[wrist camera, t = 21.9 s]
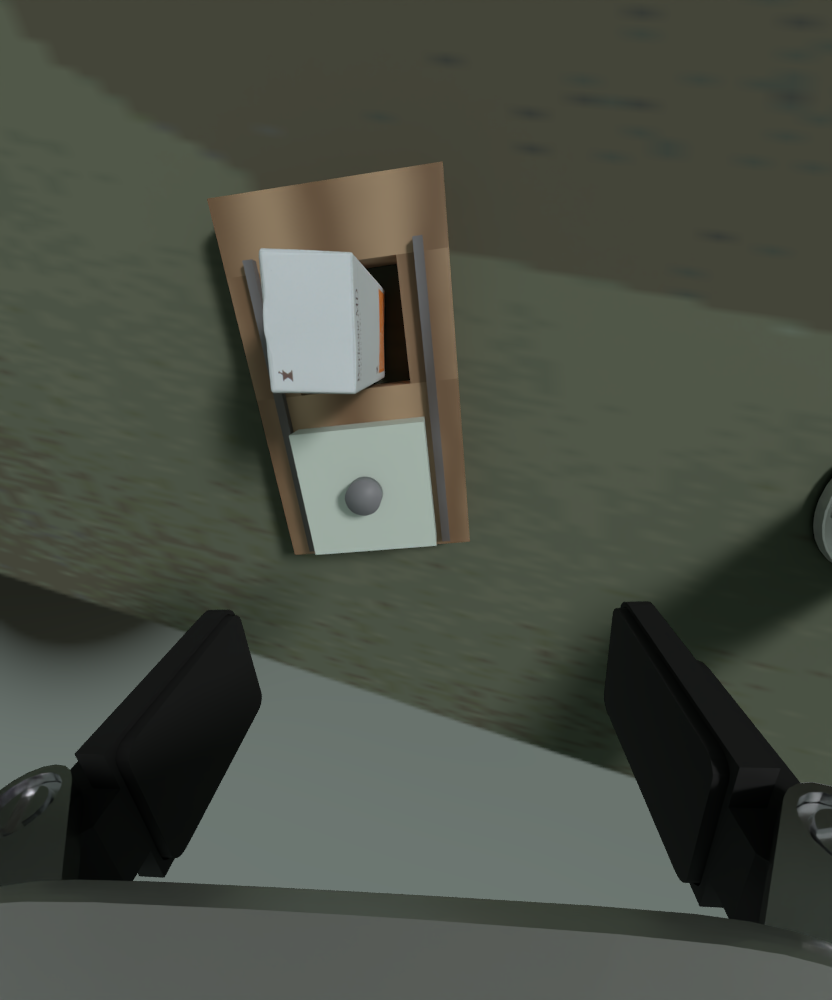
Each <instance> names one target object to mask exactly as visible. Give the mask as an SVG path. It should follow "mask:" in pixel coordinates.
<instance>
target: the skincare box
mask: <svg viewBox="0 0 832 1000" xmlns="http://www.w3.org/2000/svg"><path fill="white" fill-rule="evenodd" d="M259 265H260V276H261V287H262V298H263V325H264V334H265V338H266V345H267V356H268V364H269V375H270V385H271V391H272V392H273V393H316V394H356V393H357V392H359V391H361V390H363V389H365V388H366V387H368V386H370V385H372V384H373V383H375V382H377V381H379V380H381V379H382V378H384V377H385V362H384V316H385V290H384V289H383V288H382V287H381V286H380V284H379V283H378V282H377V281H376V280H375V279H374V278H373V276H372V275H371V274H370V273H369V272H368V271H367V270H366V269H365V267H364V266H363V265H362V264H361V263H360V262H359V260H358V259H357V258H356V257H355V256H354V255H353V253H351V252H338V251H317V250H297V249H269V248H261V249H260V250H259Z"/></svg>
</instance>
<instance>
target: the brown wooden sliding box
mask: <svg viewBox="0 0 832 1000" xmlns="http://www.w3.org/2000/svg"><path fill="white" fill-rule="evenodd" d="M207 201H208V205H209V209H210V213H211V217H212V221H213V225H214V229H215V233H216V237H217V241H218V245H219V249H220V253H221V257H222V261H223V265H224V270H225V274H226V278H227V282H228V286H229V290H230V294H231V298H232V302H233V306H234V310H235V314H236V318H237V322H238V326H239V330H240V334H241V338H242V342H243V346H244V351H245V355H246V359H247V363H248V367H249V371H250V375H251V379H252V383H253V387H254V391H255V395H256V399H257V403H258V407H259V411H260V415H261V419H262V423H263V427H264V432H265V436H266V440H267V444H268V448H269V452H270V456H271V460H272V464H273V468H274V472H275V476H276V480H277V484H278V488H279V492H280V496H281V500H282V504H283V508H284V513H285V517H286V521H287V525H288V529H289V533H290V537H291V541H292V545H293V549H294V553H295V555H300V554H314V553H315V550H314V545H313V541H312V536H311V532H310V527H309V523H308V519H307V514H306V510H305V505H304V501H303V496H302V492H301V488H300V483H299V479H298V474H297V470H296V466H295V461H294V457H293V452H292V448H291V443H290V439H289V435H290V434H292V433H294V432H295V431H297V430H299V429H309V428H318V427H328V426H338V425H347V424H357V423H366V422H376V421H386V420H395V419H405V418H414V417H424V418H425V427H426V437H427V447H428V456H429V466H430V476H431V485H432V495H433V505H434V514H435V524H436V544H444V543H457V542H470V537H469V523H468V509H467V495H466V481H465V467H464V453H463V439H462V425H461V411H460V397H459V383H458V369H457V355H456V341H455V327H454V313H453V299H452V285H451V271H450V257H449V243H448V229H447V215H446V201H445V187H444V173H443V162H437V163H430V164H424V165H418V166H411V167H405V168H399V169H392V170H386V171H380V172H373V173H367V174H361V175H354V176H348V177H342V178H336V179H329V180H323V181H317V182H310V183H304V184H298V185H291V186H285V187H279V188H272V189H266V190H260V191H253V192H247V193H241V194H234V195H228V196H222V197H215V198H209V199H207ZM261 248H269V249H297V250H317V251H338V252H351V253H353V255H354V256H355V257H356V258H357V259H358V260H359V262H360V263H361V264H362V265H363V266H364V267H365V268H373V267H380V266H387V265H395V264H397V267H398V276H399V285H400V294H401V303H402V312H403V321H404V329H405V338H406V347H407V356H408V365H409V374H410V380H408V381H399V382H390V383H381V384H372V385H370V386H368V387H366V388H365V389H363V390H361V391H359V392H357V393H356V394H316V393H273V392H272V391H271V385H270V375H269V364H268V356H267V345H266V338H265V334H264V325H263V298H262V287H261V276H260V265H259V250H260V249H261Z"/></svg>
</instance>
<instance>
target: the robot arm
mask: <svg viewBox="0 0 832 1000" xmlns="http://www.w3.org/2000/svg"><path fill="white" fill-rule="evenodd" d="M813 530H814V537H815V541H816V543H817V545H818V548H819V550H820V551H821V553H822V554H823V555H824V556H825V557H826V558H827V560H829V561H830V562H832V479H831V480H830V481H829V483H828V484H827V485H826V487H825V489H824V491H823V493H822V495H821V497H820V498H819V501H818V504H817V507H816V510H815V513H814V523H813ZM261 699H262V694H261V690H260V687H259V683H258V679H257V676H256V672H255V669H254V666H253V662H252V658H251V654H250V651H249V647H248V644H247V640H246V637H245V633H244V630H243V626H242V622H241V619H240V617H239V616H237V615H235V614H234V612H233V611H232V610H208V611H206V612H205V613H204V614H203V615H202V616H201V617H200V618H199V619H198V620H197V621H196V622H195V623H194V625H193V626H192V627H191V628H190V629H189V630H188V631H187V632H186V633H185V634H184V635H183V637H182V638H181V639H180V640H179V641H178V642H177V643H176V644H175V645H174V646H173V647H172V649H171V650H170V651H169V652H168V653H167V654H166V655H165V656H164V657H163V658H162V659H161V661H160V662H159V663H158V664H157V665H156V666H155V667H154V668H153V669H152V670H151V671H150V672H149V674H148V675H147V676H146V677H145V678H144V679H143V680H142V681H141V682H140V683H139V685H138V686H137V687H136V688H135V689H134V690H133V691H132V692H131V693H130V694H129V695H128V696H127V698H126V699H125V700H124V701H123V702H122V703H121V704H120V705H119V706H118V707H117V708H116V709H115V711H114V712H113V713H112V714H111V715H110V716H109V717H108V718H107V719H106V720H105V721H104V723H103V724H102V725H101V726H100V727H99V728H98V729H97V730H96V731H95V732H94V733H93V734H92V736H91V737H90V738H89V739H88V740H87V741H86V742H85V743H84V744H83V745H82V746H81V748H80V749H79V750H78V751H77V752H76V753H75V756H76V757H77V760H78V762H77V763H76V764H75V765H74V766H73V767H72V768H71V770H70V769H68V768H67V767H66V766H62V765H50V766H46V767H41V768H39V769H36V770H34V771H31V772H28V773H26V774H25V775H23V776H21V777H19V778H17V779H16V780H14V781H12V782H11V783H9V784H8V785H6V786H5V787H4V788H2V789H1V790H0V1000H832V786H828V785H823V784H818V783H813V782H809V783H800V782H799V781H798V779H797V778H796V777H795V776H794V774H793V773H792V772H791V771H790V769H789V768H788V767H787V766H786V764H785V763H784V762H783V760H782V759H781V758H780V757H779V755H778V754H777V753H776V752H775V750H774V749H773V748H772V747H771V745H770V744H769V743H768V742H767V740H766V739H765V738H764V737H763V735H762V734H761V733H760V732H759V730H758V729H757V728H756V727H755V725H754V724H753V723H752V722H751V720H750V719H749V718H748V717H747V715H746V714H745V713H744V712H743V710H742V709H741V708H740V707H739V705H738V704H737V703H736V702H735V700H734V699H733V698H732V697H731V695H730V694H729V693H728V692H727V690H726V689H725V688H724V687H723V685H722V684H721V683H720V682H719V680H718V679H717V678H716V677H715V675H714V674H713V673H712V671H711V670H710V669H709V668H708V667H707V666H706V665H705V664H704V663H702V662H700V661H698V660H696V659H695V658H694V657H693V655H692V654H691V653H690V651H689V650H688V649H687V648H686V646H685V645H684V644H683V642H682V641H681V640H680V639H679V637H678V636H677V635H676V633H675V632H674V631H673V630H672V628H671V627H670V626H669V624H668V623H667V622H666V621H665V619H664V618H663V617H662V615H661V614H660V613H659V612H658V610H657V609H656V608H655V606H654V605H653V604H652V603H651V602H648V601H647V602H623V603H622V604H621V607H620V608H616V609H614V611H613V617H612V626H611V635H610V644H609V654H608V663H607V672H606V681H605V690H604V701H605V706H606V710H607V713H608V715H609V717H610V720H611V722H612V724H613V727H614V729H615V731H616V734H617V736H618V738H619V741H620V743H621V745H622V748H623V750H624V752H625V755H626V757H627V760H628V762H629V764H630V767H631V769H632V771H633V774H634V776H635V778H636V781H637V783H638V785H639V788H640V790H641V792H642V795H643V797H644V799H645V802H646V804H647V807H648V808H649V811H650V813H651V816H652V818H653V821H654V823H655V825H656V828H657V830H658V832H659V835H660V837H661V839H662V842H663V844H664V846H665V849H666V851H667V853H668V856H669V858H670V860H671V863H672V865H673V868H674V870H675V872H676V874H677V876H678V877H679V879H680V880H681V881H682V882H684V883H690V885H691V888H692V890H693V892H694V894H695V897H696V899H697V901H698V903H699V906H703V907H722V908H724V909H725V912H726V914H727V916H728V918H729V919H727V918H719V917H712V916H705V915H698V914H687V913H675V912H663V911H651V910H638V909H627V908H614V907H602V906H589V905H571V904H556V903H538V902H523V901H507V900H506V901H505V900H490V899H474V898H457V897H440V896H423V895H404V894H387V893H368V892H351V891H331V890H314V889H295V888H276V887H255V886H235V885H214V884H194V883H193V884H192V883H173V882H149V881H133V880H134V878H135V876H136V875H137V873H138V874H139V876H145V877H165V875H166V874H167V872H168V870H169V868H170V866H171V864H172V862H173V860H174V859H175V858H178V857H179V856H180V855H181V854H182V853H183V852H184V850H185V849H186V847H187V845H188V843H189V841H190V840H191V837H192V836H193V834H194V832H195V830H196V828H197V826H198V824H199V823H200V820H201V819H202V817H203V815H204V813H205V811H206V809H207V807H208V805H209V803H210V802H211V800H212V798H213V796H214V794H215V792H216V790H217V788H218V786H219V784H220V783H221V780H222V779H223V777H224V775H225V773H226V771H227V769H228V767H229V765H230V763H231V762H232V760H233V758H234V756H235V754H236V752H237V750H238V748H239V746H240V745H241V743H242V741H243V739H244V737H245V735H246V733H247V731H248V729H249V727H250V725H251V723H252V722H253V720H254V718H255V716H256V714H257V712H258V710H259V708H260V705H261Z"/></svg>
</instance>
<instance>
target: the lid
mask: <svg viewBox="0 0 832 1000" xmlns="http://www.w3.org/2000/svg"><path fill="white" fill-rule="evenodd" d="M289 439H290V443H291V448H292V452H293V457H294V461H295V466H296V470H297V474H298V479H299V483H300V488H301V492H302V496H303V501H304V505H305V510H306V514H307V519H308V523H309V527H310V532H311V536H312V541H313V545H314V550H315V554H316V555H320V554H334V553H347V552H360V551H373V550H386V549H399V548H412V547H425V546H436V524H435V514H434V505H433V495H432V485H431V476H430V466H429V456H428V447H427V437H426V427H425V418H424V417H414V418H405V419H395V420H386V421H376V422H366V423H357V424H347V425H338V426H328V427H318V428H309V429H299V430H297V431H295V432H294V433H292V434H290V435H289Z"/></svg>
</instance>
